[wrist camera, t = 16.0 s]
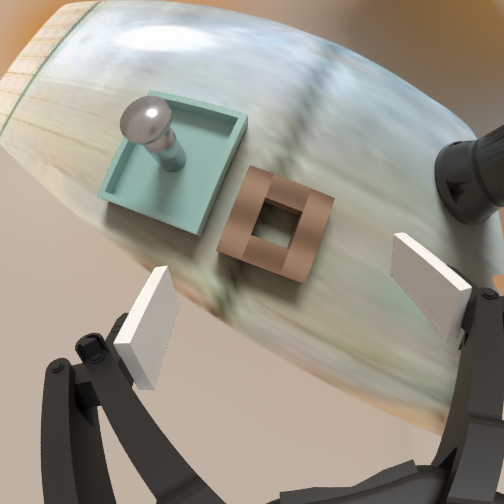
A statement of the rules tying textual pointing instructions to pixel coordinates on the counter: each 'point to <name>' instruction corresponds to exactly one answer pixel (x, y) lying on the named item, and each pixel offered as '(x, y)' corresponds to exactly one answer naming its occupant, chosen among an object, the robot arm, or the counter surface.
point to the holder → (284, 197)
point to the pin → (153, 131)
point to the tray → (189, 176)
